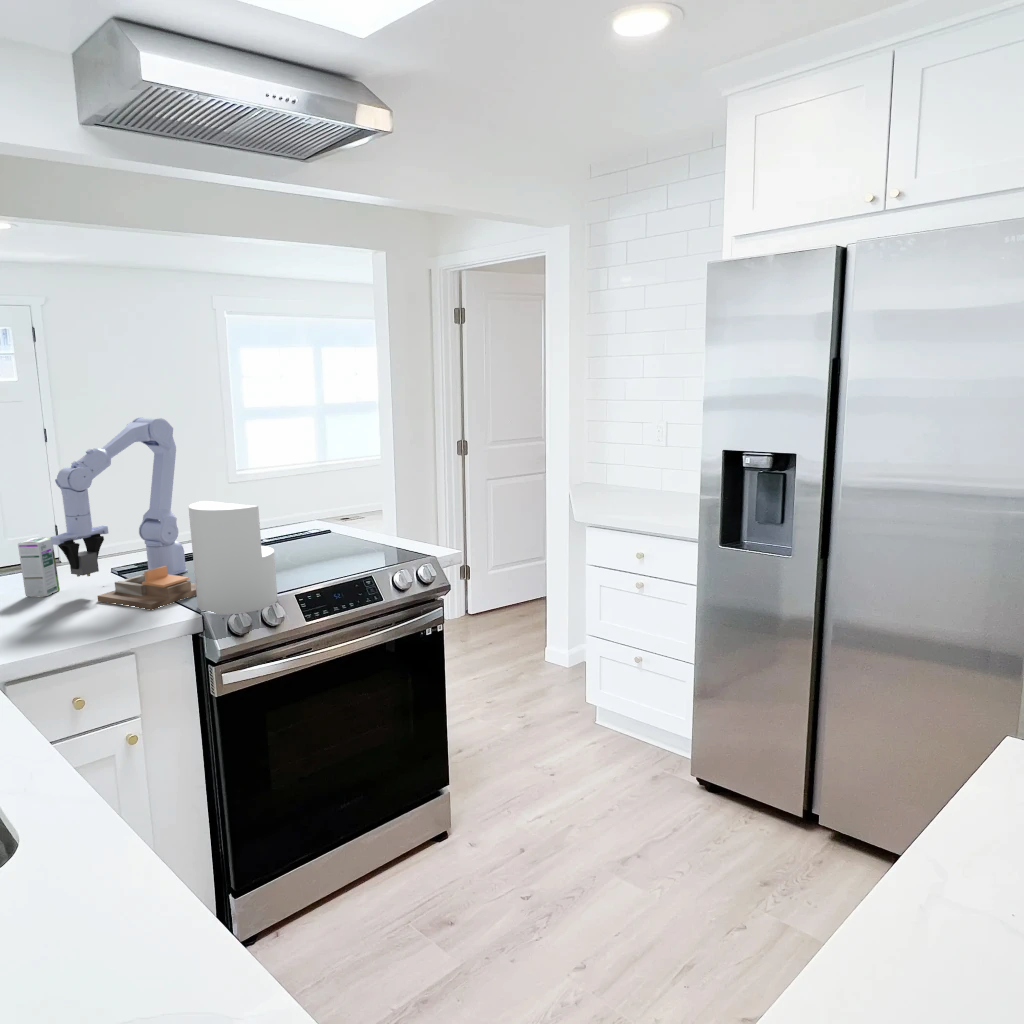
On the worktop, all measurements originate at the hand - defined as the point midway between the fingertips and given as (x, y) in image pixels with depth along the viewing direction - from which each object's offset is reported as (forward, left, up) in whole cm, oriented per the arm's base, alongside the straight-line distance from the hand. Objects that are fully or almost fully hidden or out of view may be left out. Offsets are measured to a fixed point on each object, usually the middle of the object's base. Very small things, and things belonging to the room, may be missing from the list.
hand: (84, 566), depth 201 cm
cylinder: (-10, +42, -8) cm, 44 cm away
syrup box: (+4, -12, -8) cm, 15 cm away
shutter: (-6, +22, -3) cm, 23 cm away
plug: (0, -1, -2) cm, 3 cm away
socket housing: (-6, +18, -8) cm, 20 cm away
